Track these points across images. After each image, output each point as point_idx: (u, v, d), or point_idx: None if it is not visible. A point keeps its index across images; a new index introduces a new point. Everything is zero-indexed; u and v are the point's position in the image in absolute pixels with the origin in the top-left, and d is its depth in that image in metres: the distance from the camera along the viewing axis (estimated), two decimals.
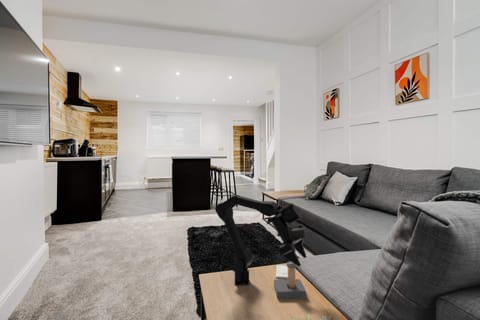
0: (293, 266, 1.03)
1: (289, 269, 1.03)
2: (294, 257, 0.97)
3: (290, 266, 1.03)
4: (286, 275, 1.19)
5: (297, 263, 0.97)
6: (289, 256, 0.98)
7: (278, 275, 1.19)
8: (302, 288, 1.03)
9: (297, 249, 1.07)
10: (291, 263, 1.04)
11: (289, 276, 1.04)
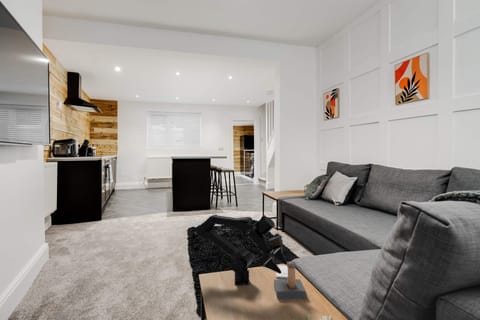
0: (293, 266, 1.03)
1: (289, 269, 1.03)
2: (274, 265, 1.02)
3: (290, 266, 1.03)
4: (286, 275, 1.19)
5: (278, 271, 1.02)
6: (269, 265, 1.03)
7: (278, 275, 1.19)
8: (302, 288, 1.03)
9: (278, 258, 1.12)
10: (291, 263, 1.04)
11: (289, 276, 1.04)
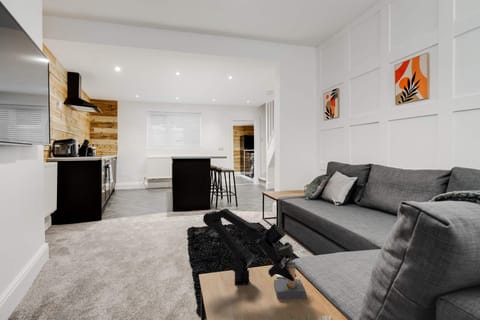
0: (293, 266, 1.03)
1: (289, 269, 1.03)
2: (287, 273, 1.02)
3: (290, 266, 1.03)
4: None
5: (291, 278, 1.02)
6: (282, 273, 1.03)
7: (278, 275, 1.19)
8: (302, 288, 1.03)
9: None
10: (291, 263, 1.04)
11: None
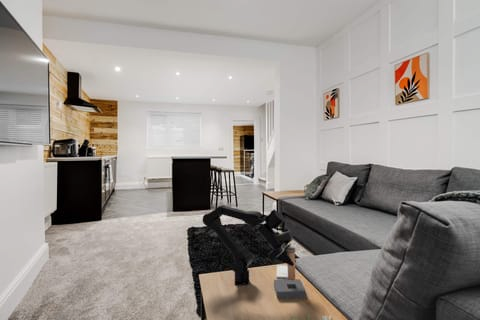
0: (293, 251, 1.03)
1: (289, 254, 1.04)
2: (286, 258, 1.02)
3: (290, 251, 1.03)
4: (287, 275, 1.19)
5: (290, 263, 1.02)
6: (282, 258, 1.03)
7: (279, 275, 1.19)
8: (302, 288, 1.03)
9: None
10: (291, 248, 1.05)
11: None
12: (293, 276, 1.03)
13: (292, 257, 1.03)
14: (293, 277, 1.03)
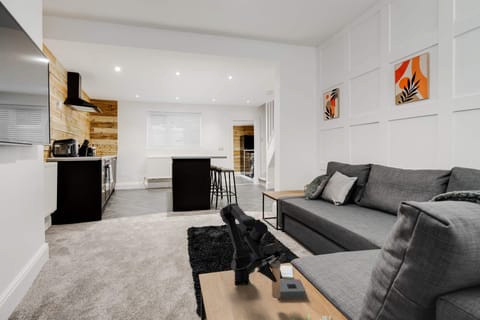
0: (276, 266, 0.93)
1: (272, 269, 0.94)
2: (268, 272, 0.93)
3: (273, 266, 0.93)
4: (287, 275, 1.19)
5: (273, 279, 0.93)
6: (264, 272, 0.95)
7: None
8: (302, 288, 1.03)
9: None
10: (275, 263, 0.95)
11: None
12: (277, 294, 0.93)
13: (275, 273, 0.93)
14: (276, 294, 0.93)
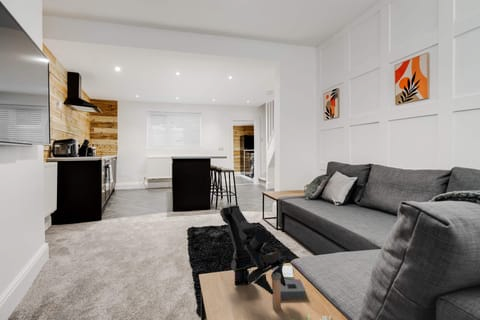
0: (276, 278, 0.93)
1: (272, 281, 0.94)
2: (265, 284, 0.92)
3: (273, 277, 0.93)
4: (287, 275, 1.19)
5: (269, 291, 0.91)
6: (261, 283, 0.93)
7: None
8: (302, 288, 1.03)
9: None
10: (276, 274, 0.95)
11: (272, 288, 0.94)
12: (277, 306, 0.93)
13: (276, 285, 0.93)
14: (277, 306, 0.93)
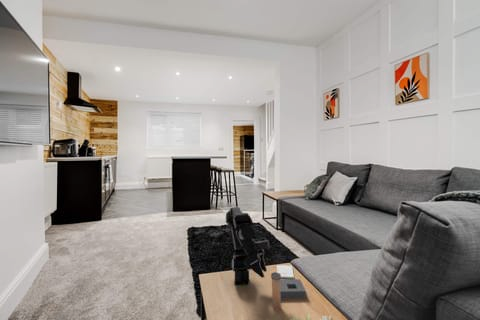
0: (276, 278, 0.93)
1: (272, 281, 0.94)
2: (259, 268, 0.99)
3: (273, 278, 0.93)
4: (287, 275, 1.19)
5: (261, 274, 0.99)
6: (254, 267, 0.99)
7: None
8: (302, 288, 1.03)
9: None
10: (276, 274, 0.95)
11: (272, 288, 0.94)
12: (277, 306, 0.93)
13: (276, 285, 0.93)
14: (277, 306, 0.93)
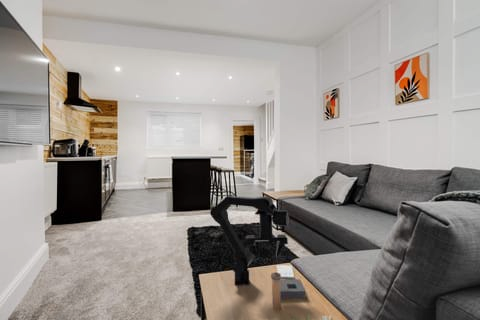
0: (276, 278, 0.93)
1: (272, 281, 0.94)
2: None
3: (273, 277, 0.93)
4: (288, 275, 1.19)
5: None
6: None
7: None
8: (302, 288, 1.03)
9: None
10: (276, 274, 0.95)
11: (272, 288, 0.94)
12: (277, 306, 0.93)
13: (276, 285, 0.93)
14: (277, 306, 0.93)
